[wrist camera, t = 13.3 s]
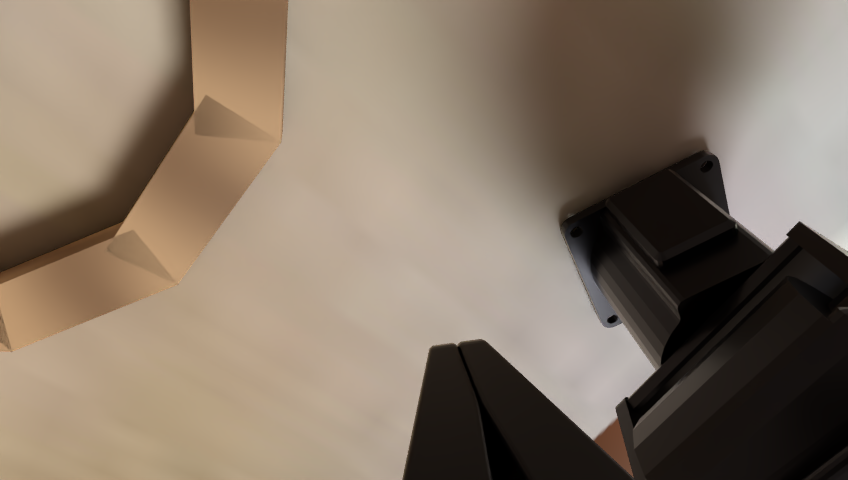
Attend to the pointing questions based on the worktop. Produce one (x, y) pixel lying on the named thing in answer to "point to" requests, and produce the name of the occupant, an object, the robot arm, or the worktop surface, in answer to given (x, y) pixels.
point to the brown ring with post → (169, 182)
